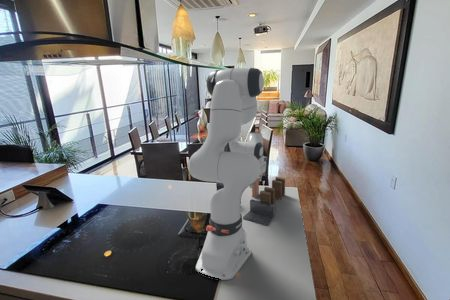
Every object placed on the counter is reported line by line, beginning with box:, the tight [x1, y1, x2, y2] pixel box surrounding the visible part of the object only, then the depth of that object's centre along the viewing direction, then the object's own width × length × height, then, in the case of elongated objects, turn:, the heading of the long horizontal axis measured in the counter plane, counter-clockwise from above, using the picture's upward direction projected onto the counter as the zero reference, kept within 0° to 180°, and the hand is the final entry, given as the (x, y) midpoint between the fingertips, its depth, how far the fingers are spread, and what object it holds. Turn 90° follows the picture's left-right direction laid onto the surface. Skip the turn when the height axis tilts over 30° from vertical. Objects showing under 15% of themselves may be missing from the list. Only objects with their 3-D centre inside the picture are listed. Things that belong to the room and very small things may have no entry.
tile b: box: [271, 179, 283, 201], centre depth 129 cm, size 2×5×10 cm, turn 56°
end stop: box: [242, 199, 276, 227], centre depth 112 cm, size 9×12×6 cm
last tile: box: [259, 190, 271, 204], centre depth 117 cm, size 2×5×10 cm, turn 56°
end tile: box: [275, 176, 286, 197], centre depth 133 cm, size 2×5×10 cm, turn 56°
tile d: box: [263, 186, 276, 205], centre depth 121 cm, size 2×5×10 cm, turn 56°
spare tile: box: [251, 178, 260, 199], centre depth 133 cm, size 2×5×10 cm, turn 146°
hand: (255, 184), depth 133 cm, fingers open, 8 cm apart
